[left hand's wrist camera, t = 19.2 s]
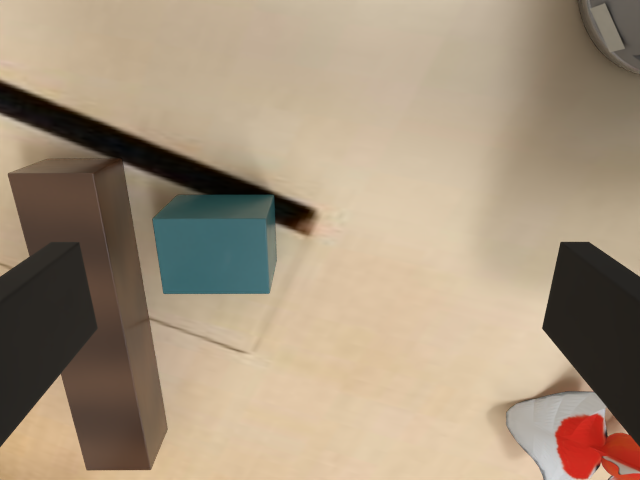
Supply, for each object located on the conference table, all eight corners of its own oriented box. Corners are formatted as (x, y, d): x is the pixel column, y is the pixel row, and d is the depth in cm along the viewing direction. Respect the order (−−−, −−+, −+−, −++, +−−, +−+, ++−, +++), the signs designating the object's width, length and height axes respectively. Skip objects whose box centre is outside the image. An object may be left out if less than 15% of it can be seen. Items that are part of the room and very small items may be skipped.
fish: (615, 531, 45) (671, 592, 36) (476, 430, 49) (493, 460, 39) (674, 442, 45) (747, 479, 36) (532, 348, 49) (562, 358, 39)
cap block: (177, 194, 37) (151, 218, 32) (274, 194, 37) (266, 218, 32) (185, 260, 39) (163, 294, 34) (276, 260, 39) (269, 294, 34)
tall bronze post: (47, 158, 36) (7, 173, 31) (122, 158, 36) (93, 172, 31) (109, 429, 47) (86, 470, 42) (167, 429, 47) (151, 470, 42)
